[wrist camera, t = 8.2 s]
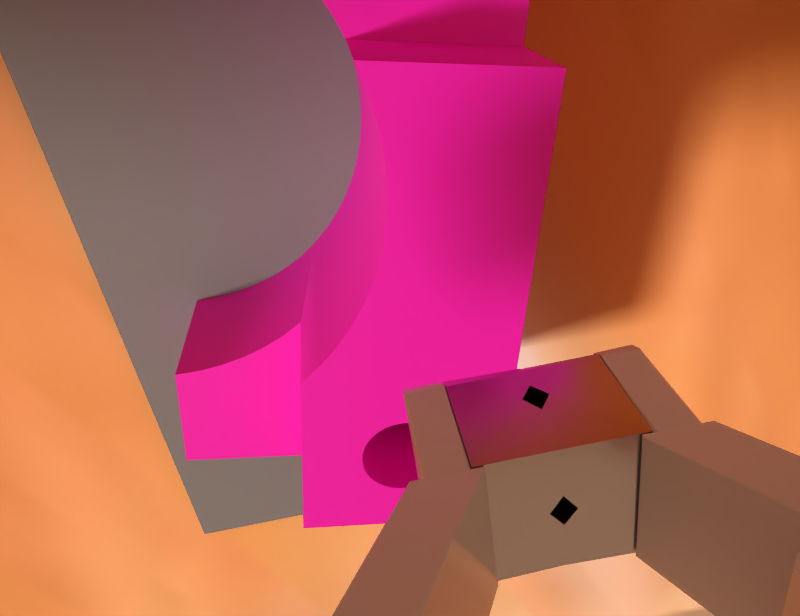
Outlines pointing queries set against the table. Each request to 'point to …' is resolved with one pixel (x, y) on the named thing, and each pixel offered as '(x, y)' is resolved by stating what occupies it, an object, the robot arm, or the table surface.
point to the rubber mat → (190, 175)
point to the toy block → (389, 261)
